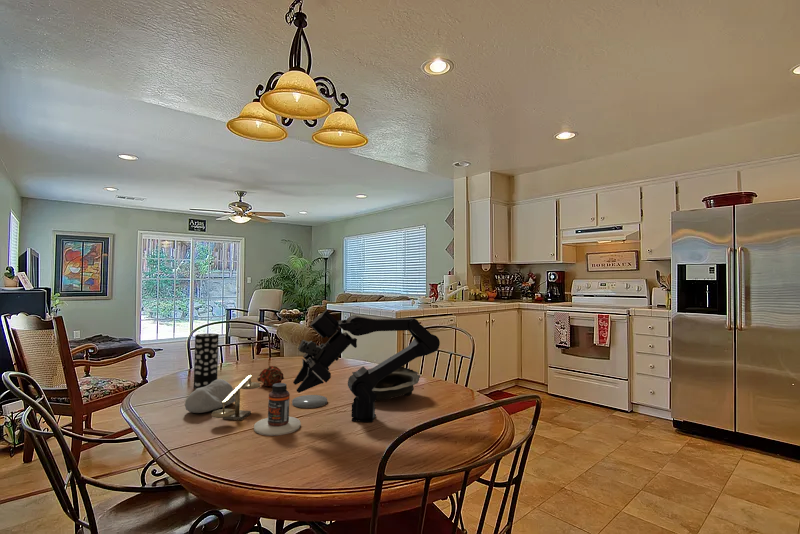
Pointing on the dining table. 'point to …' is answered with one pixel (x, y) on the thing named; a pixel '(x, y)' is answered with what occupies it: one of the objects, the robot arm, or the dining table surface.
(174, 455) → the dining table surface
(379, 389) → the stone bowl
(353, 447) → the dining table surface
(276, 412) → the supplement bottle
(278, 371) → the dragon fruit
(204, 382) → the white-spotted black cylinder
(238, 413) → the balance
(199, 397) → the decorative stone
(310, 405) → the slate dish
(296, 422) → the cream dish
